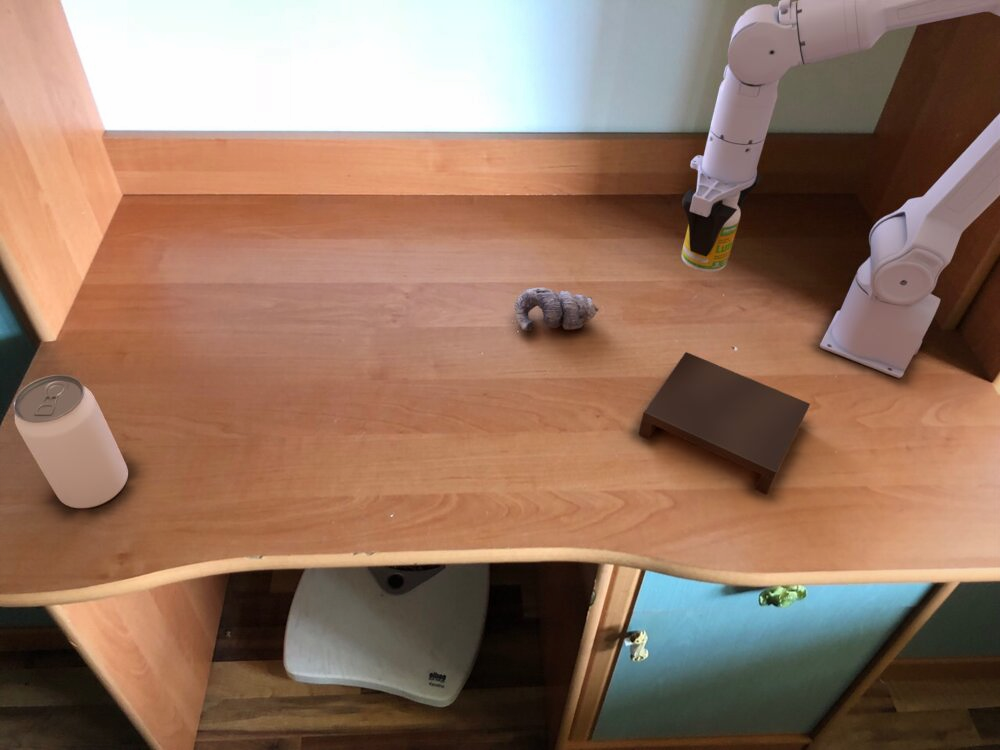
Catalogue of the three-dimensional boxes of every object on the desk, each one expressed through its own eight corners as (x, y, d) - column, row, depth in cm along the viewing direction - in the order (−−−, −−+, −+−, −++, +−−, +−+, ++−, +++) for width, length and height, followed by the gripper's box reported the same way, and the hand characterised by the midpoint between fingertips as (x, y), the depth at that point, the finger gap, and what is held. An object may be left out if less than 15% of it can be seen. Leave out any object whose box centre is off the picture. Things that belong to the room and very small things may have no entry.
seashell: (513, 334, 96) (594, 334, 97) (518, 326, 90) (604, 325, 92) (511, 291, 96) (592, 291, 98) (517, 280, 91) (602, 280, 92)
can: (138, 457, 79) (99, 370, 70) (117, 510, 74) (74, 425, 66) (71, 457, 78) (24, 370, 70) (46, 511, 74) (-7, 425, 65)
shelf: (800, 425, 85) (810, 403, 83) (766, 494, 78) (776, 472, 76) (679, 374, 90) (685, 351, 88) (638, 434, 83) (643, 411, 81)
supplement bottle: (713, 279, 91) (733, 207, 85) (672, 261, 94) (688, 189, 87) (734, 258, 95) (755, 187, 88) (693, 241, 97) (711, 170, 90)
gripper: (727, 95, 89) (701, 201, 98) (674, 147, 80) (651, 258, 89) (788, 113, 86) (756, 220, 95) (740, 169, 77) (710, 280, 87)
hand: (709, 240), depth 92 cm, fingers closed on supplement bottle, 5 cm apart
